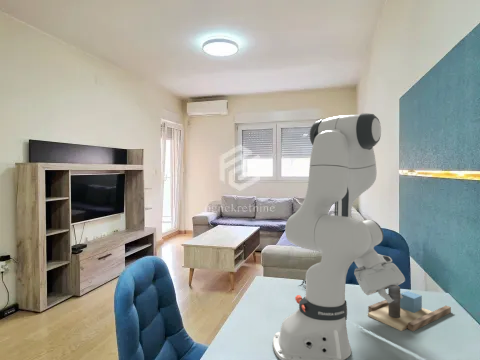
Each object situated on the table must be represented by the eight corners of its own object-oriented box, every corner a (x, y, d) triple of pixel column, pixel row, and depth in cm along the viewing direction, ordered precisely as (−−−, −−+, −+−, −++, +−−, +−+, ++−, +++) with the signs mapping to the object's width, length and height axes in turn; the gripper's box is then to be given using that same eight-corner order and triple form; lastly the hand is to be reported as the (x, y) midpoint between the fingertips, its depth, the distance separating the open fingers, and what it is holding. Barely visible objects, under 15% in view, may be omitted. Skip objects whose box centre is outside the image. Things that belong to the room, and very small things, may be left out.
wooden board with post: (401, 331, 94) (401, 296, 94) (367, 315, 104) (367, 284, 104) (434, 315, 104) (434, 284, 104) (401, 302, 114) (400, 274, 114)
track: (413, 334, 94) (413, 325, 94) (368, 313, 107) (368, 306, 107) (450, 314, 106) (450, 307, 106) (406, 299, 120) (406, 292, 119)
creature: (295, 288, 136) (303, 290, 128) (294, 275, 137) (302, 277, 129) (310, 285, 138) (319, 288, 131) (309, 273, 139) (318, 275, 132)
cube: (413, 313, 104) (413, 298, 103) (400, 307, 108) (399, 293, 108) (421, 309, 106) (421, 295, 106) (407, 304, 110) (407, 291, 110)
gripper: (357, 264, 102) (383, 303, 94) (392, 256, 113) (419, 290, 104) (346, 274, 106) (371, 311, 98) (381, 264, 117) (406, 298, 108)
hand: (396, 300), depth 101 cm, fingers closed on wooden board with post, 4 cm apart
